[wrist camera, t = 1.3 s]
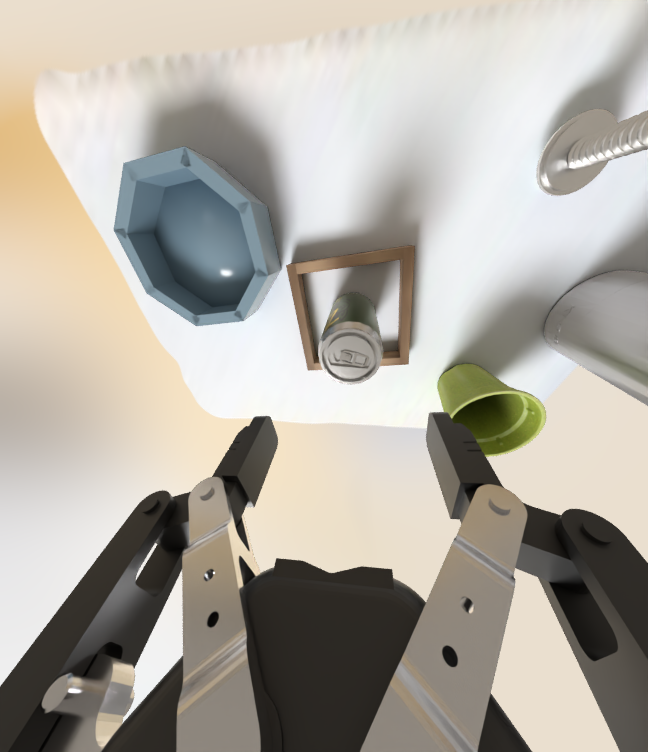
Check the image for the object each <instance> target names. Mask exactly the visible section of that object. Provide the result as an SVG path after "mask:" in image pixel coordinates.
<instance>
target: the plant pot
mask: <svg viewBox="0 0 648 752" xmlns="http://www.w3.org/2000/svg"><path fill="white" fill-rule="evenodd" d="M438 392H439V395H440V399H441V403H442V406H443V410H444V412H448V413H449V415H450V417H451V419H452V421H453V423H462V424H463V425H464V426H465V427H466V428H468V429H469V430H470V431H471V432H472V434H473V435H474V437H475V439H476V441H477V443H478V444H479V446H480V448H481V449H482V452H483V453H484V455H485V456H486V457H489V456H498V455H502V454H506V453H509V452H512V451H515V450H517V449H519V448H521V447H523V446H525V445H526V444H528V443H529V442H531V441H532V440H533V439H534V438H535V437H536V436H537V435H538V434H539V433H540V431H541V430H542V428H543V426H544V425H545V421H546V411H545V408H544V406H543V404H542V403H541V402H540V401H539V400H538V399H537V398H536V397H534V396H533V395H531V394H529V393H527V392H524V391H520V390H516V389H514V388H511V387H509V386H507V385H506V384H504V383H503V382H501V381H500V380H498V379H497V378H495V377H494V376H492V375H491V374H490V373H488V372H487V371H485V370H484V369H483V368H481V367H479V366H477V365H474V364H460V365H456V366H454V367H453V368H452V369H450V370H449V371H447V372H445V373H443V374H442V376H441V377H440V379H439V381H438Z"/></svg>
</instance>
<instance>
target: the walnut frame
mask: <svg viewBox="0 0 648 752" xmlns="http://www.w3.org/2000/svg"><path fill="white" fill-rule="evenodd" d="M414 252H415V246H412V245H409V246H403V247H396V248H390V249H383V250H376V251H370V252H363V253H357V254H350V255H344V256H337V257H330V258H324V259H317V260H311V261H304V262H298V263H291V264H289V265H286V267H287V271H288V276H289V281H290V286H291V291H292V296H293V300H294V305H295V310H296V315H297V320H298V324H299V329H300V334H301V339H302V344H303V349H304V353H305V358H306V363H307V368H308V370H323V369H322V367H321V364H320V361H319V357H316V352H315V347H314V341H313V335H312V330H311V324H310V319H309V313H308V308H307V302H306V296H305V291H304V285H303V280H302V274H303V273H310V272H317V271H324V270H332V269H339V268H346V267H353V266H360V265H367V264H374V263H381V262H388V261H395V260H400V293H399V331H398V351H388V352H383V356H382V361H381V363H380V366H389V365H405V364H408V363H409V345H410V326H411V308H412V289H413V271H414Z"/></svg>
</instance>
